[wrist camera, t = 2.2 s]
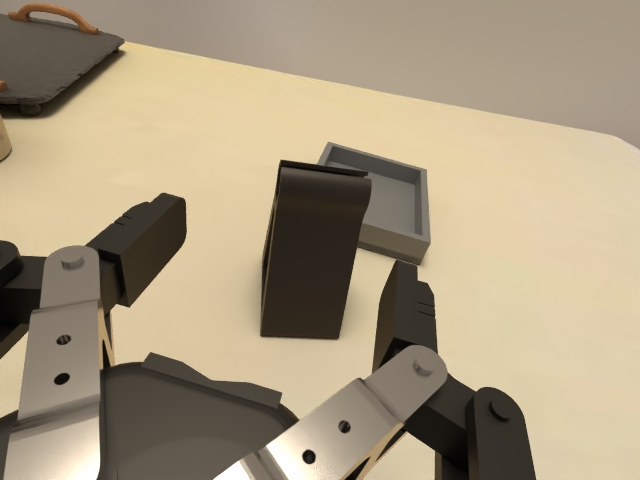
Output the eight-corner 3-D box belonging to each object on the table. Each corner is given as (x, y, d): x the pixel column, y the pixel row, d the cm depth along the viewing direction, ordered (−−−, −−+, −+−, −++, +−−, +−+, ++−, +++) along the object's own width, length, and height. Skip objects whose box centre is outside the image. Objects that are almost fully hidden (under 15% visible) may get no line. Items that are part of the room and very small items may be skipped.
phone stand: (337, 340, 29) (385, 215, 21) (259, 336, 27) (281, 202, 20) (325, 261, 36) (358, 145, 28) (262, 255, 34) (279, 133, 27)
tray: (292, 227, 38) (296, 203, 37) (323, 161, 52) (328, 141, 50) (419, 265, 38) (430, 242, 36) (418, 188, 51) (426, 169, 49)
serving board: (40, 133, 44) (25, 78, 40) (-210, 100, 39) (-255, 34, 35) (133, 51, 73) (129, 15, 69) (-3, 26, 68) (-15, -14, 64)
